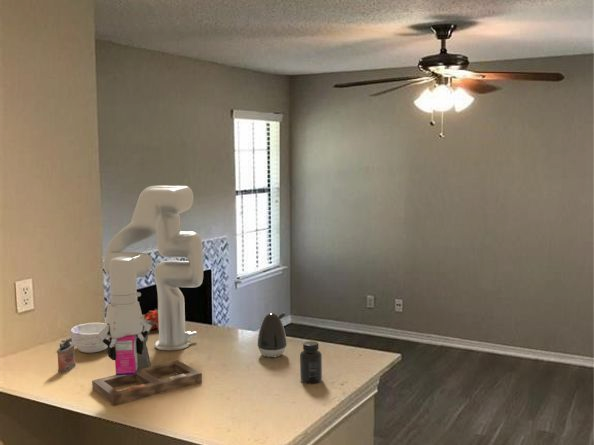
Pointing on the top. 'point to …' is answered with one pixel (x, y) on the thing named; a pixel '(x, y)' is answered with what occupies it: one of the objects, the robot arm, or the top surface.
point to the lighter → (66, 356)
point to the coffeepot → (144, 350)
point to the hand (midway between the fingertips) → (126, 355)
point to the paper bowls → (88, 337)
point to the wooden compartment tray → (146, 382)
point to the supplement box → (126, 355)
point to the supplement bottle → (310, 363)
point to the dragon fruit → (153, 318)
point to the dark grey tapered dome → (272, 336)
